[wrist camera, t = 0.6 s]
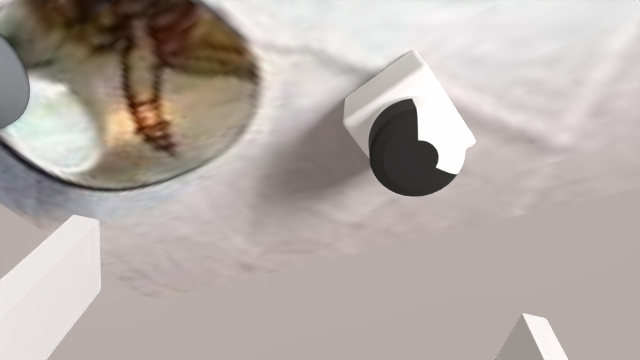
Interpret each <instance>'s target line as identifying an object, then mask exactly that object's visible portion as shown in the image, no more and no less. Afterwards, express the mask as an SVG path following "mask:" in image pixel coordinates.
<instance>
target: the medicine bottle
mask: <svg viewBox="0 0 640 360" xmlns="http://www.w3.org/2000/svg"><path fill="white" fill-rule="evenodd" d="M343 125H344V126H345V128H346V129H347V130H348V132H349V133H350V134H351V136H352V137H353V138H354V139H355V141H356V142H357V143H358V145H359V146H360V147H361V149H362V150H363V151H364V153H365V154H366V155H367V157H368V158H369V159H370V165H371V168H372V171H373V173H374V175H375V176H376V178H377V179H378V181H379V182H380V183H381V184H382V185H383V186H385V187H386V188H387V189H389V190H391V191H393V192H395V193H397V194H400V195H404V196H413V197H414V196H424V195H428V194H432V193H434V192H437V191H439V190H441V189H442V188H444V187H445V186H447V185H448V184H449V183H450V182H451V181H452V180H453V179H454V178H455V177H456V175H457V174H458V173H459V171H460V169H461V167H462V165H463V162H464V158H465V150H466V149H468V148H470V147H471V146H473V145H474V144H475V138H474V136H473V135H472V133H471V132H470V130H469V129H468V127H467V126H466V124H465V122H464V121H463V119H462V118H461V116H460V115H459V113H458V112H457V110H456V109H455V107H454V106H453V104H452V102H451V101H450V99H449V98H448V96H447V95H446V93H445V92H444V90H443V89H442V87H441V86H440V84H439V82H438V81H437V79H436V78H435V76H434V75H433V73H432V72H431V70H430V69H429V67H428V66H427V64H426V63H425V62H424V61H423V59H422V58H421V57H420V56H419V54H418V53H417V52H416V51H415V50H411V51H409V52H408V53H407V54H405V55H404V56H402V57H401V58H400V59H398V60H397V61H395V62H394V63H393V64H391V65H390V66H389V67H387V68H386V69H384V70H383V71H382V72H380V73H379V74H377V75H376V76H375V77H373V78H372V79H370V80H369V81H368V82H366V83H365V84H363V85H362V86H361V87H359V88H358V89H357V90H355V91H354V92H352V93H351V94H350V95H348V96H347V97H346V98H345V105H344V116H343Z"/></svg>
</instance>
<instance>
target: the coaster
mask: <svg viewBox="0 0 640 360" xmlns="http://www.w3.org/2000/svg"><path fill="white" fill-rule="evenodd" d="M29 96H30V86H29V80H28V75H27V72H26V69H25V67H24V65H23V62H22V61H21V59H20V57H19V55H18V54H17V52H16V51H15V50H14V48H13V47H12V46H11V45H10V44H9V42H8V41H7V40H6V39H5V38H4V37H3V36H2V35H0V128H1V127H4V126H6V125H8V124H11V123H12V122H14V121H16V120H17V119H18V118H19V117H20V116H21V115H22V114H23V113H24V111H25V110H26V107H27V105H28V101H29Z"/></svg>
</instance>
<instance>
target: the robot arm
mask: <svg viewBox="0 0 640 360" xmlns="http://www.w3.org/2000/svg"><path fill="white" fill-rule="evenodd" d="M100 290H101V275H100V230H99V220H96V219H91V218H87V217H82V216H78V215H73V216H72V217H71V218H69V219H68V220H67V221H66V222H65V223H64V224H63V225H62V226H60V227H59V228H58V229H57V230H56V231H55V232H54V233H53V234H51V235H50V236H49V237H48V238H47V239H46V240H45V241H44V242H42V243H41V244H40V245H39V246H38V247H37V248H36V249H35V250H33V252H31V253H30V254H29V255H28V256H27V257H26V258H24V259H23V260H22V261H21V262H20V263H19V264H18V265H17V266H16V267H15V268H13V269H12V270H11V271H10V272H9V273H8V274H6V275H5V276H4V277H3V278H2V279H1V280H0V360H46V359H47V358H48V357H49V356H50V354H51V353H52V352H53V351H54V349H55V348H56V347H57V345H58V344H59V343H60V342H61V340H62V339H63V338H64V336H65V335H66V334H67V333H68V331H69V330H70V329H71V328H72V326H73V325H74V324H75V322H76V321H77V320H78V319H79V317H80V316H81V315H82V313H83V312H84V311H85V310H86V308H87V307H88V306H89V304H90V303H91V302H92V301H93V299H94V298H95V297H96V296H97V294H98V293H99V292H100ZM495 360H568V359H567V357H566V355H565V353H564V351H563V349H562V347H561V346H560V344H559V342H558V340H557V338H556V336H555V334H554V332H553V331H552V329H551V327H550V325H549V323H548V321H547V319H546V318H542V317H537V316H533V315H528V314H523V313H522V314H521V316H520V318H519V319H518V321H517V323H516V325H515V326H514V328H513V330H512V332H511V333H510V335H509V337H508V338H507V340H506V342H505V344H504V345H503V347H502V349H501V351H500V353H499V354H498V356H497V358H496V359H495Z"/></svg>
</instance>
